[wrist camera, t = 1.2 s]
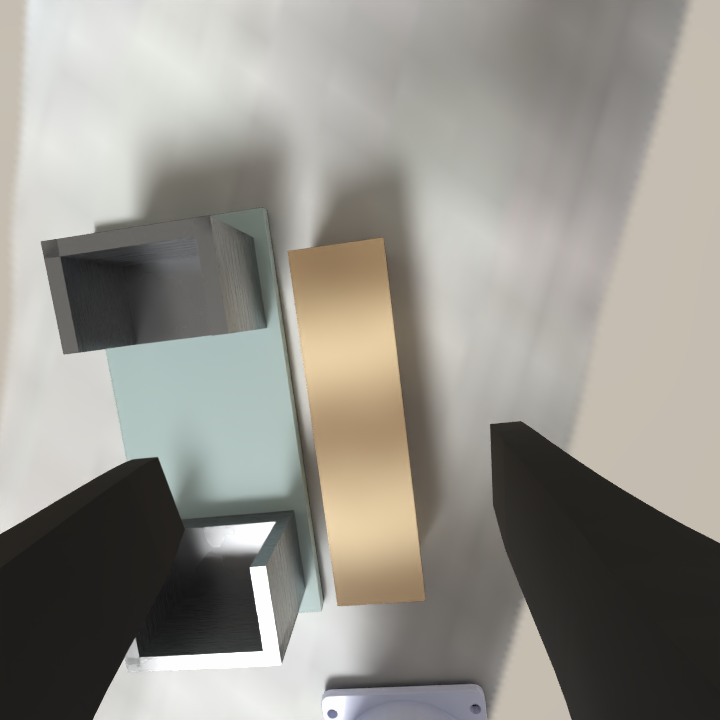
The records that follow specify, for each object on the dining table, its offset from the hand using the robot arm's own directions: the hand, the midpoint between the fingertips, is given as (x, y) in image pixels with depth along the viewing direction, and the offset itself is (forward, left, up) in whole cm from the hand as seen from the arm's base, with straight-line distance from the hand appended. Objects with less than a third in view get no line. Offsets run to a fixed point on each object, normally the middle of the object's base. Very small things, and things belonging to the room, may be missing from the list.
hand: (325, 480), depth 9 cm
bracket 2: (-7, +7, -11) cm, 14 cm away
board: (-1, +8, -11) cm, 13 cm away
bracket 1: (+5, +7, -11) cm, 14 cm away
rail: (-1, 0, -11) cm, 11 cm away
